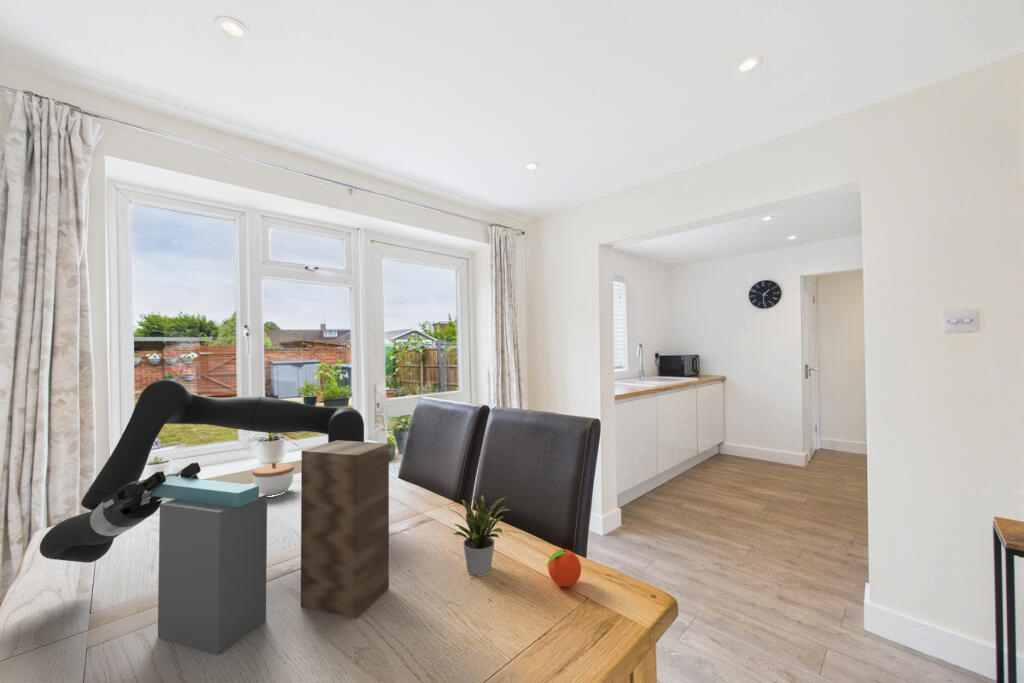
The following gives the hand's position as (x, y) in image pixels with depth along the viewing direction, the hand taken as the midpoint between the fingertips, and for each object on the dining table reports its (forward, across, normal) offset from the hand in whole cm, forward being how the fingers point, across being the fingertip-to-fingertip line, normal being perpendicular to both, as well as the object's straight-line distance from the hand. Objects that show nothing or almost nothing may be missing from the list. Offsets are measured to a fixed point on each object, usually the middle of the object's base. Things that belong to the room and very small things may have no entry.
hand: (180, 471), depth 76 cm
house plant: (+28, +32, +48) cm, 64 cm away
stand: (+8, +14, +36) cm, 40 cm away
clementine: (+44, +31, +57) cm, 78 cm away
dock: (-6, 0, +28) cm, 29 cm away
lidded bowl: (-49, +58, +4) cm, 76 cm away
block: (+3, 0, +7) cm, 7 cm away
